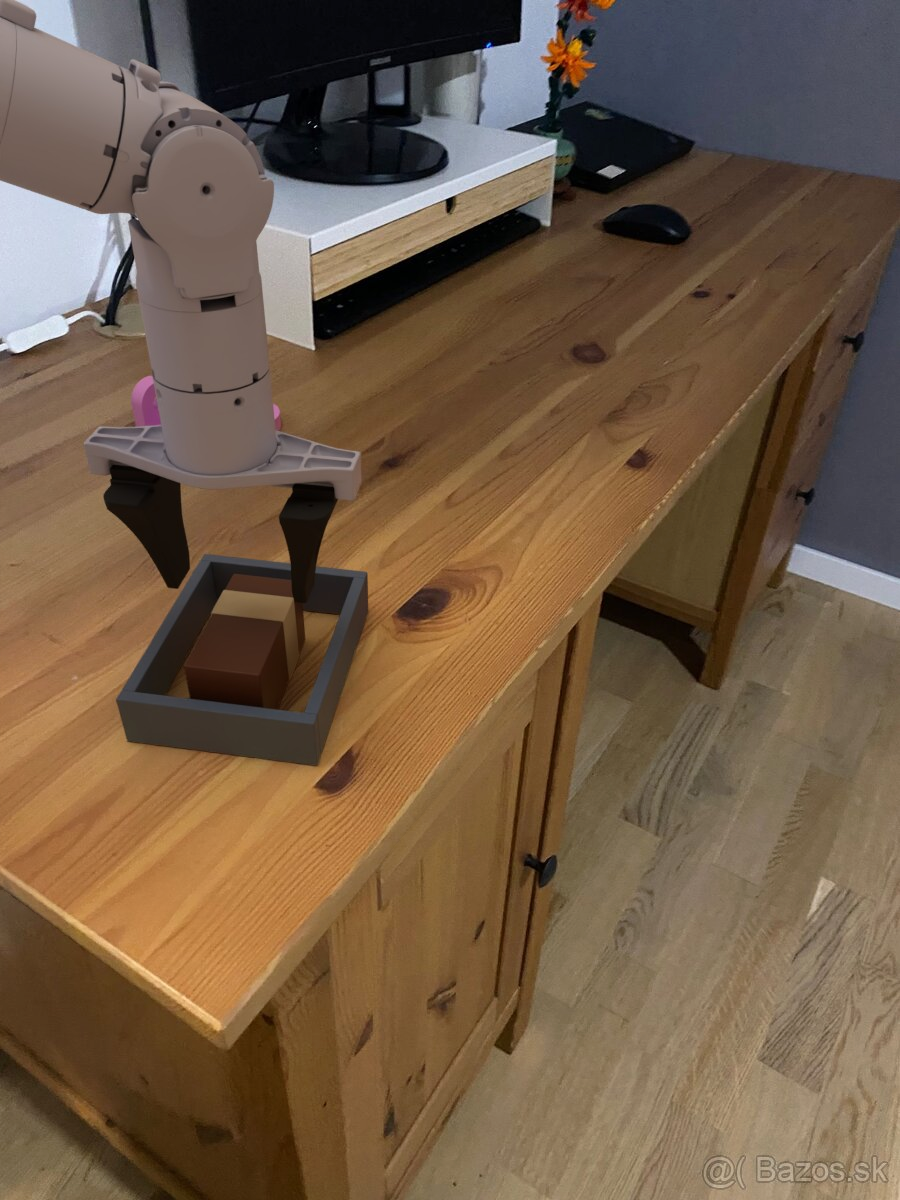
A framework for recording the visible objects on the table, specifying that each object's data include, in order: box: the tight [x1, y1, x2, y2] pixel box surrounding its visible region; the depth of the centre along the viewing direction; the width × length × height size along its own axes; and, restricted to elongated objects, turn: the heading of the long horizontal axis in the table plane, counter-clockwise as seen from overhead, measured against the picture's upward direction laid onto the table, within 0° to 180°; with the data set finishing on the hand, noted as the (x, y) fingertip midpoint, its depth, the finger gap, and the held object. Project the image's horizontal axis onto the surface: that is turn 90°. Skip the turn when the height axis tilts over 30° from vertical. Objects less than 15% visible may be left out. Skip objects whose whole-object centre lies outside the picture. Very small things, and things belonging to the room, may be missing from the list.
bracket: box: [130, 375, 282, 431], centre depth 81 cm, size 13×6×7 cm, turn 142°
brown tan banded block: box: [183, 574, 306, 710], centre depth 57 cm, size 5×9×5 cm, turn 172°
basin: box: [115, 553, 369, 766], centre depth 58 cm, size 12×15×4 cm
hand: (241, 585), depth 54 cm, fingers open, 7 cm apart
